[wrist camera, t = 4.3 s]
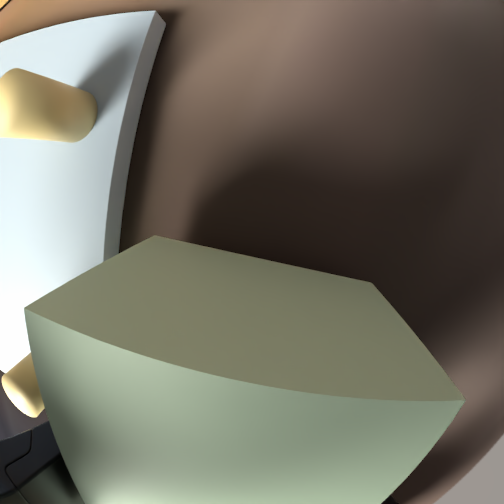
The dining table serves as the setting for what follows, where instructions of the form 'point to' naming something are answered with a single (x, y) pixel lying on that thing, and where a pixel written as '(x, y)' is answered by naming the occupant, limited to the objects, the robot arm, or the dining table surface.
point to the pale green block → (232, 381)
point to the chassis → (64, 164)
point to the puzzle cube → (3, 3)
